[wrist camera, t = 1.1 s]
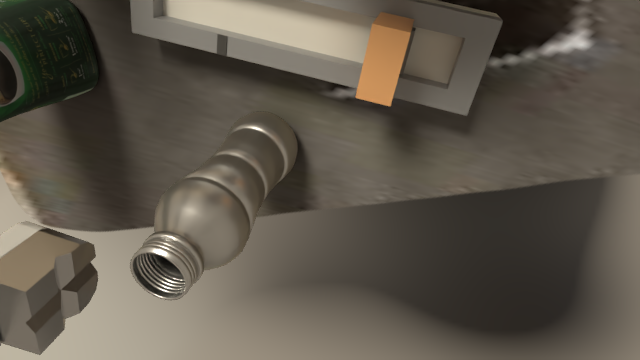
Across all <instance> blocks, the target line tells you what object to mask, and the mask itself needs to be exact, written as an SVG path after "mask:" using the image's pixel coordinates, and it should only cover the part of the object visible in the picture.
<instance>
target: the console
mask: <svg viewBox="0 0 640 360" xmlns="http://www.w3.org/2000/svg"><path fill="white" fill-rule="evenodd" d="M130 8H131V25H132V33H136V34H140V35H144V36H148V37H152V38H156V39H160V40H164V41H168V42H172V43H176V44H180V45H184V46H188V47H192V48H196V49H200V50H204V51H208V52H212V53H216V54H219V55H223V56H228V57H233V58H237V59H241V60H245V61H249V62H253V63H257V64H261V65H265V66H269V67H273V68H277V69H281V70H285V71H289V72H293V73H297V74H301V75H305V76H309V77H313V78H317V79H321V80H325V81H329V82H333V83H337V84H341V85H345V86H349V87H353V88H358V84H359V79H360V75H361V71H362V66H363V62H364V58H365V53H366V49H367V45H368V40H369V36H370V31H371V27H372V23H373V22H374V21H375V19H376V18H377V16H378V15H379V14H380V12H384V13H388V14H393V15H397V16H402V17H406V18H410V19H414V22H413V27H414V28H416V30H415V34H414V37H413V41H412V44H411V48H410V52H409V55H408V59H407V62H406V66H405V69H404V73H403V75H402V74H399V78H398V81H397V85H396V88H395V92H394V96H393V98H397V99H401V100H405V101H409V102H413V103H417V104H421V105H425V106H429V107H433V108H437V109H441V110H445V111H449V112H453V113H457V114H461V115H465V116H467V114H468V111H469V109H470V106H471V103H472V101H473V98H474V96H475V93H476V90H477V88H478V85H479V83H480V80H481V77H482V75H483V72H484V70H485V67H486V64H487V62H488V59H489V57H490V54H491V51H492V49H493V46H494V44H495V41H496V38H497V36H498V33H499V31H500V28H501V25H502V23H503V21H502V19H501V18H500V17H499V16H498V15H497V14H496V13H492V12H487V11H483V10H478V9H474V8H469V7H465V6H460V5H456V4H451V3H447V2H442V1H438V0H130Z"/></svg>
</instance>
